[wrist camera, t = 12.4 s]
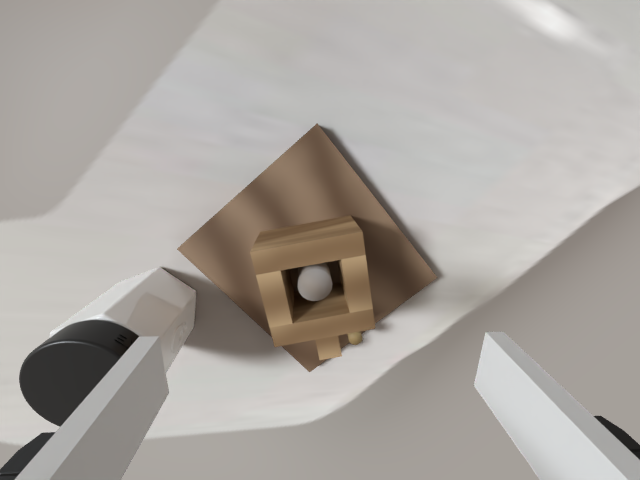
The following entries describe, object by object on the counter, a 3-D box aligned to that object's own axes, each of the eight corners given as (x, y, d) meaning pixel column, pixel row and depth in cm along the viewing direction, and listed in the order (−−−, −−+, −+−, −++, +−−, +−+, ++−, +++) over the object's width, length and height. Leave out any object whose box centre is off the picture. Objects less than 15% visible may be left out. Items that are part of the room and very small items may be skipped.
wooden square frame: (260, 231, 29) (249, 252, 23) (350, 215, 29) (362, 231, 23) (289, 353, 33) (287, 395, 28) (368, 338, 33) (382, 378, 28)
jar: (195, 343, 34) (141, 442, 22) (120, 334, 33) (23, 433, 22) (200, 272, 31) (142, 342, 20) (119, 260, 30) (10, 327, 19)
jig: (316, 124, 28) (320, 117, 22) (431, 272, 33) (461, 300, 27) (182, 244, 30) (152, 268, 24) (309, 363, 36) (310, 408, 29)
